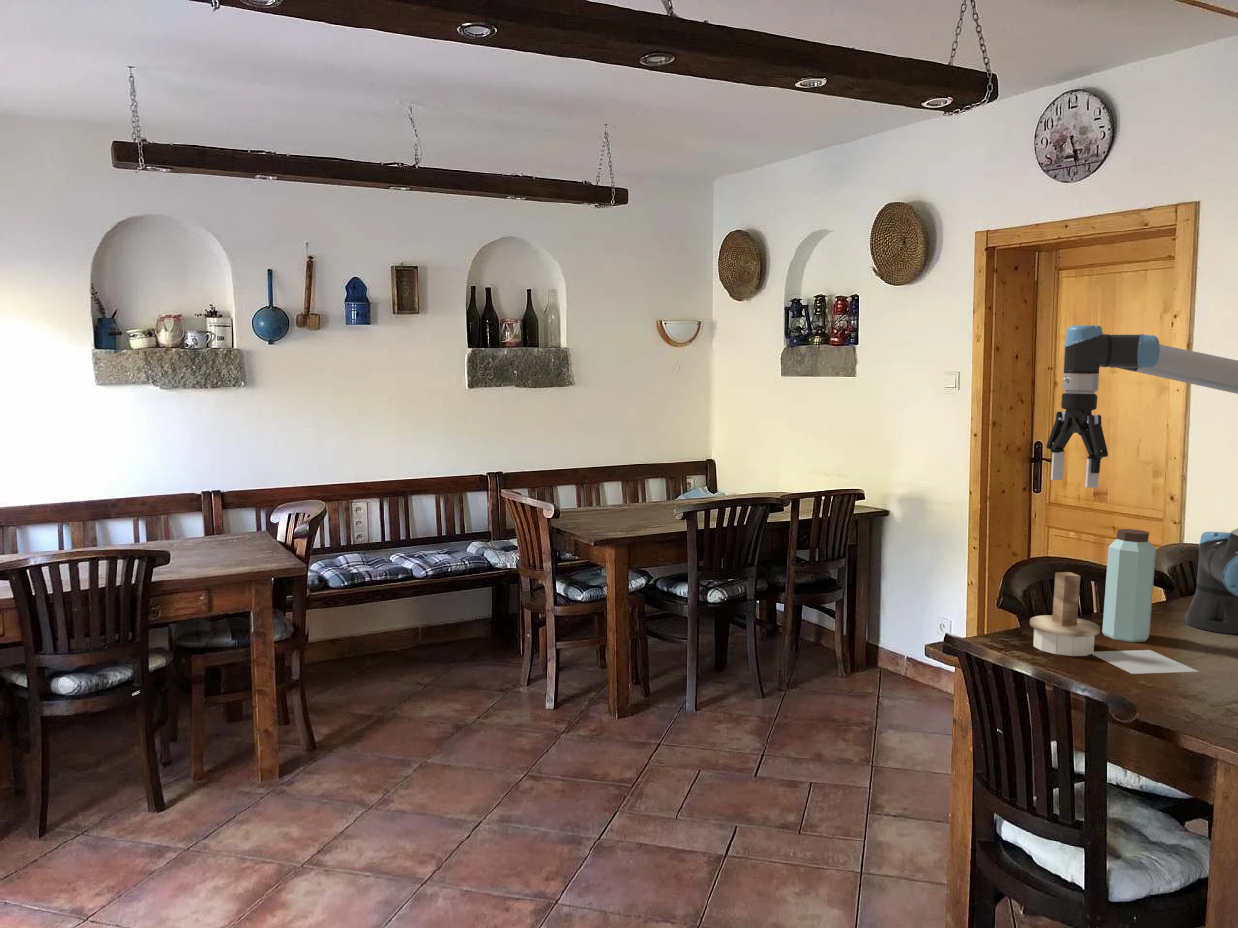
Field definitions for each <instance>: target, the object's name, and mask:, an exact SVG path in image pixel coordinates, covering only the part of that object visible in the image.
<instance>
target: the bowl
mask: <svg viewBox="0 0 1238 928" xmlns="http://www.w3.org/2000/svg"><path fill="white" fill-rule="evenodd" d="M1095 637H1096V635H1095V636H1089V637H1070V636H1061V635H1055V634H1050V633H1046V632H1042V631H1039V630H1036V629H1034V628H1033V647H1034V648H1036V649H1038V650H1039V651H1042V652H1046V653H1050V654H1053V655H1058V656H1059V655H1060V656H1069V657H1087V656H1089V655H1092V653H1094V652H1095V651H1094V650H1095Z"/></svg>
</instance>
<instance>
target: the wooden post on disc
mask: <svg viewBox="0 0 1238 928" xmlns="http://www.w3.org/2000/svg"><path fill="white" fill-rule="evenodd" d="M1054 575H1055V576H1054V586H1053V587H1054V589H1053V603H1052V614H1051V615H1050V614H1049V615H1048V614H1047V615H1045V614H1043V615H1036V616H1032V617H1031V618H1029V626H1030V627H1031V628H1033V630H1034V629H1036V630H1039V631H1042V632H1046V633H1050V634H1055V635H1061V636H1070V637H1089V636H1095V637H1096V636H1098V635H1099V634H1100V633H1101V632H1100V630H1101V629H1100V628H1101V627H1100V625H1098V624H1097V623H1095V622H1093V621H1091V620H1087V619H1083V618H1079V616H1078V615H1079V614H1078V613H1079V603H1080V586H1081V585H1080V584H1081V575H1079V574H1076V573H1074V572H1070V571H1064V572H1063V571H1062V572H1061V571H1060V572H1055V573H1054Z"/></svg>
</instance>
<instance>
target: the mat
mask: <svg viewBox="0 0 1238 928" xmlns="http://www.w3.org/2000/svg"><path fill="white" fill-rule="evenodd" d="M1091 655H1092V656H1094V657H1096V658H1098V659H1101V660H1103V661H1105V662H1107V663H1109V664H1111V665H1113V666H1115V667H1117V668H1119V669H1121V670H1122V671H1126V672H1127V673H1129V674H1132V675H1138V674H1139V675H1140V674H1141V675H1142V674H1143V675H1144V674H1171V673H1174V674H1175V673H1199V672H1200V671H1199V670H1196V669H1195V668H1192V667H1190V666H1188V665H1186V664H1183V663H1181V662H1179V661H1176V660H1174V659H1171V658H1169V657H1167V656H1165V655H1163V654H1161V653H1158V652H1156V651H1155V650H1151V649H1138V650H1136V649H1134V650H1133V649H1132V650H1107V651H1106V650H1102V651H1094V653H1092V654H1091Z"/></svg>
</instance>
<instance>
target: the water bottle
mask: <svg viewBox="0 0 1238 928" xmlns="http://www.w3.org/2000/svg"><path fill="white" fill-rule="evenodd" d="M1149 536H1150V531H1146V530H1145V531H1144V530H1142V529H1131V528H1120V529H1117V532H1116V539H1114V541H1113V542H1112V543H1111V544H1109V545H1108V546H1107V548H1108V550H1107V561H1106V563H1107V564H1106V574H1105V575H1106V576H1105V589H1104V590H1105V592H1104V602H1103V605H1104V606H1103V616H1102V617H1103V619H1102V629H1101V632H1102V634H1103V635H1104V636H1105V637H1108V638H1110V639H1112V640H1117V641H1122V642H1123V641H1124V642H1130V643H1140V642H1142V643H1143V642H1146V641H1147V640H1148V638H1149V637H1150V631H1151V620H1152V619H1151V618H1152V606H1153V605H1152V604H1153V594H1154V593H1153V591H1154V581H1155V580H1154V579H1155V577H1154V576H1155V566H1156V554H1157V549H1156V547H1155V546H1154V545H1153V544H1152V543H1151V542H1150V540H1149V539H1150V538H1149Z"/></svg>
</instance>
